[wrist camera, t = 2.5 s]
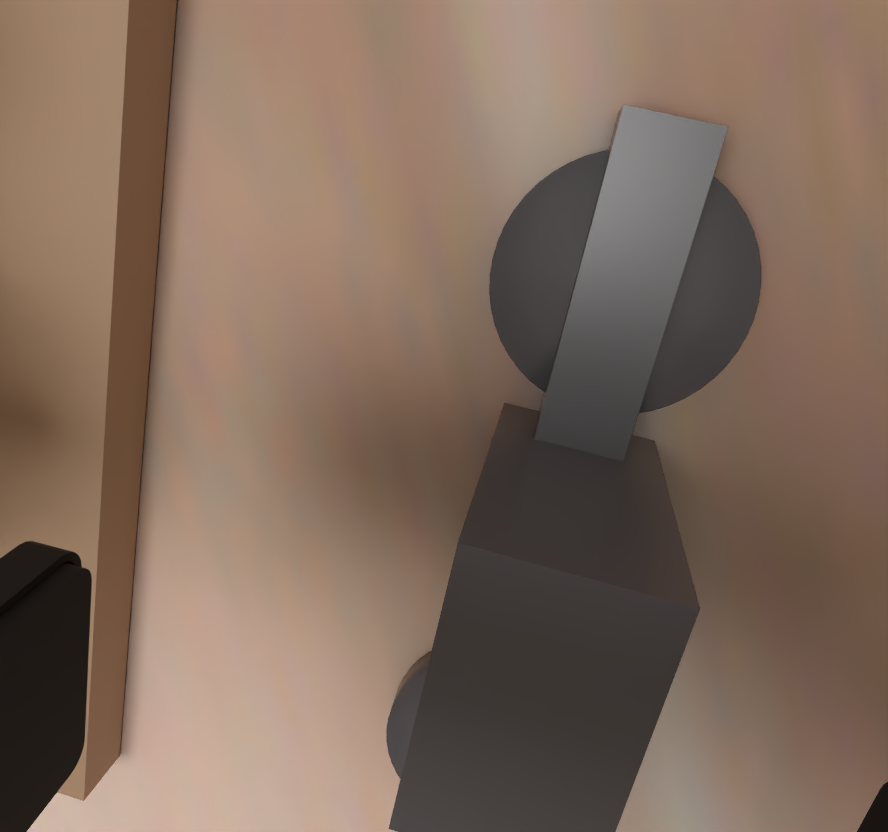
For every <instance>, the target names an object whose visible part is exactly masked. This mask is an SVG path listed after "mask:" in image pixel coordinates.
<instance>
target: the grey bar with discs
mask: <svg viewBox="0 0 888 832" xmlns="http://www.w3.org/2000/svg"><path fill="white" fill-rule="evenodd" d="M727 130H728V127H727V126H722V125H718V124H713V123H708V122H703V121H699V120H694V119H689V118H684V117H680V116H675V115H670V114H665V113H661V112H656V111H651V110H646V109H642V108H637V107H632V106H627V105H623V106H622V108H621V110H620V111H619V113H618V117H617V121H616V124H615V128H614V132H613V136H612V139H611V143H610V147H609V150H608V151H602V152H599V153H595V154H591V155H587V156H585V157H582V158H580V159H577V160H575V161H573V162H570V163H568V164H566V165H565V166H563V167H561V168H559V169H558V170H556V171H554V172H553V173H551V174H550V175H549V176H547V177H546V178H545V179H543V180H542V181H541V182H539V183H538V184H537V185H536V186H535V187H534V188H533V189H532V190H531V191H530V192H529V193H528V194H527V195H526V196H525V197H524V198H523V199H522V201H521V202H520V203H519V205H518V206H517V207H516V208H515V210H514V211H513V213H512V214H511V216H510V218H509V219H508V221H507V223H506V224H505V226H504V228H503V231H502V233H501V235H500V237H499V240H498V242H497V246H496V249H495V252H494V256H493V260H492V266H491V272H490V291H489V293H490V303H491V310H492V315H493V319H494V323H495V327H496V329H497V332H498V334H499V337H500V340H501V342H502V344H503V346H504V347H505V349H506V351H507V353H508V355H509V356H510V358H511V359H512V360H513V362H514V363H515V365H516V366H517V367H518V369H519V370H520V371H521V372H522V373H523V374H524V375H525V376H526V377H527V378H528V379H529V380H530V381H531V382H532V383H534V384H535V385H536V386H537V387H538V388H540V389H541V390H542V391H544V395H543V399H542V403H541V406H540V410H539V412H538V411H534V410H530V409H526V408H522V407H518V406H514V405H510V404H506V403H504V406H503V409H502V412H501V415H500V418H499V421H498V424H497V427H496V430H495V433H494V436H493V439H492V442H491V445H490V448H489V451H488V454H487V457H486V460H485V463H484V466H483V469H482V472H481V475H480V478H479V481H478V484H477V487H476V490H475V493H474V496H473V499H472V502H471V505H470V508H469V511H468V514H467V517H466V520H465V523H464V526H463V529H462V532H461V535H460V538H459V541H458V545H457V549H456V553H455V557H454V561H453V565H452V570H451V574H450V578H449V582H448V586H447V590H446V594H445V598H444V603H443V607H442V611H441V615H440V619H439V623H438V627H437V631H436V636H435V640H434V644H433V648H432V651H431V652H429V653H427V654H426V655H425V656H423V657H422V658H421V659H419V660H418V661H417V662H416V663H415V664H414V665H413V666H412V667H411V668H410V670H409V671H408V672H407V674H406V675H405V676H404V678H403V680H402V682H401V684H400V686H399V689H398V692H397V695H396V698H395V700H394V703H393V706H392V709H391V712H390V715H389V718H388V724H387V746H388V752H389V755H390V759H391V762H392V764H393V766H394V768H395V771H396V773H397V774H398V776H399V778H400V779H401V780H400V784H399V788H398V793H397V797H396V801H395V805H394V809H393V813H392V817H391V821H390V826H389V829H391V830H394V831H398V832H615V831H616V828H617V826H618V823H619V821H620V818H621V815H622V813H623V810H624V807H625V805H626V802H627V799H628V797H629V794H630V792H631V789H632V786H633V784H634V781H635V778H636V776H637V773H638V771H639V768H640V765H641V763H642V760H643V757H644V755H645V752H646V749H647V747H648V744H649V742H650V739H651V736H652V734H653V731H654V728H655V726H656V723H657V721H658V718H659V715H660V713H661V710H662V707H663V705H664V702H665V700H666V697H667V694H668V692H669V689H670V686H671V684H672V681H673V678H674V676H675V673H676V671H677V668H678V665H679V663H680V660H681V657H682V655H683V652H684V650H685V647H686V644H687V642H688V639H689V636H690V634H691V631H692V628H693V626H694V623H695V621H696V618H697V615H698V613H699V610H700V607H699V604H698V600H697V596H696V593H695V589H694V585H693V582H692V578H691V574H690V570H689V567H688V563H687V559H686V556H685V552H684V548H683V545H682V541H681V537H680V533H679V530H678V526H677V522H676V519H675V515H674V511H673V508H672V504H671V500H670V496H669V493H668V489H667V485H666V482H665V478H664V474H663V471H662V467H661V463H660V460H659V456H658V452H657V448H656V445H655V441H652V440H648V439H644V438H640V437H637V436H633V435H632V432H633V429H634V426H635V423H636V419H637V416H638V413H642V412H647V411H653V410H656V409H659V408H662V407H665V406H669V405H671V404H673V403H675V402H678V401H680V400H682V399H684V398H686V397H688V396H690V395H691V394H693V393H695V392H696V391H698V390H699V389H701V388H702V387H703V386H705V385H706V384H707V383H709V382H710V381H711V380H712V379H714V378H715V377H716V376H717V375H718V374H719V373H720V372H721V371H722V370H723V369H724V368H725V367H726V366H727V364H728V363H729V362H730V361H731V359H732V358H733V357H734V355H735V354H736V353H737V352H738V350H739V348H740V346H741V345H742V343H743V341H744V340H745V338H746V336H747V334H748V332H749V329H750V327H751V325H752V322H753V320H754V317H755V313H756V310H757V306H758V303H759V296H760V289H761V262H760V255H759V248H758V245H757V241H756V238H755V234H754V231H753V229H752V226H751V224H750V222H749V220H748V218H747V215H746V214H745V212H744V211H743V209H742V207H741V206H740V204H739V203H738V201H737V200H736V198H735V197H734V196H733V195H732V194H731V193H730V191H729V190H728V189H727V188H726V187H725V186H724V185H723V184H722V183H721V182H720V181H718V180H717V179H716V178H715V177H714V176H713V174H714V171H715V168H716V165H717V162H718V159H719V155H720V152H721V149H722V146H723V143H724V139H725V136H726V133H727Z"/></svg>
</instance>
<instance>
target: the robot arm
mask: <svg viewBox="0 0 888 832" xmlns="http://www.w3.org/2000/svg"><path fill="white" fill-rule="evenodd" d="M91 589H92V576H91V573H90V570H88V569H86V568H83V567H82V565H81V559H80V557H79V555H78V554H76V553H75V552H72V551H68V550H65V549H61V548H57V547H53V546H49V545H46V544H42V543H38V542H34V541H25V542H23V543H22V544H20V545H18V546H17V547H15V548H14V549H12V550H11V551H10V552H8V553H7V554H6V555H4V556H3V557H1V558H0V832H26V831H27V830H28V829H29V828H30V826H31V825H32V824H33V822H34V821H35V820H36V819H37V817H38V816H39V815H40V813H41V812H42V811H43V810H44V808H45V807H46V806H47V804H48V803H49V802H50V801H51V799H52V798H53V797H54V795H55V794H56V793H57V792H58V790H59V789H60V788H61V786H62V785H63V784H64V783H65V781H66V780H67V779H68V778H69V776H70V775H71V773H72V772H73V770H74V769H75V767H76V765H77V763H78V761H79V759H80V756H81V754H82V751H83V747H84V742H85V724H86V702H87V679H88V657H89V634H90V611H91ZM857 832H888V782H887V783H885V784H884V785H883V786H882V788H881V789H880V790H879V792H878V794H877V796H876V798H875V800H874V802H873V803H872V805H871V807H870V809H869V811H868V813H867V814H866V816H865V818H864V820H863V822H862V824H861V825H860V827H859V829H858V831H857Z"/></svg>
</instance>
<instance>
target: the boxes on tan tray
mask: <svg viewBox="0 0 888 832" xmlns="http://www.w3.org/2000/svg"><path fill="white" fill-rule="evenodd" d="M176 4H177V0H0V558H1V557H3V556H4V555H6V554H7V553H8V552H10V551H11V550H12V549H14V548H15V547H17V546H18V545H20V544H22V543H23V542H25V541H34V542H38V543H42V544H46V545H49V546H53V547H57V548H61V549H65V550H68V551H72V552H75V553H76V554H78V555H79V557H80V559H81V565H82V567H83V568H86V569H88V570H90V573H91V576H92V589H91V611H90V634H89V657H88V679H87V702H86V724H85V742H84V747H83V751H82V754H81V756H80V759H79V761H78V763H77V765H76V767H75V769H74V770H73V772H72V773H71V775H70V776H69V778H68V779H67V780H66V781H65V783H64V784H63V785H62V786H61V788H60V789H59V790H58V793H61V794H65V795H68V796H71V797H74V798H77V799H80V800H83V801H84V800H85V799H86V797H87V796H88V795H89V794H90V792H91V791H92V790H93V789H94V787H95V786H96V785H97V783H98V782H99V781H100V780H101V778H102V777H103V776H104V775H105V773H106V772H107V771H108V770H109V768H110V767H111V766H112V765H113V763H114V762H115V761H116V759H117V758H118V757H119V756H120V743H121V730H122V717H123V703H124V690H125V677H126V664H127V651H128V637H129V624H130V611H131V598H132V585H133V571H134V558H135V545H136V532H137V519H138V505H139V492H140V479H141V466H142V453H143V439H144V426H145V413H146V400H147V387H148V373H149V360H150V347H151V334H152V321H153V307H154V294H155V281H156V268H157V255H158V241H159V228H160V215H161V202H162V189H163V175H164V162H165V149H166V136H167V123H168V109H169V96H170V83H171V70H172V57H173V43H174V30H175V17H176Z"/></svg>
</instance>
